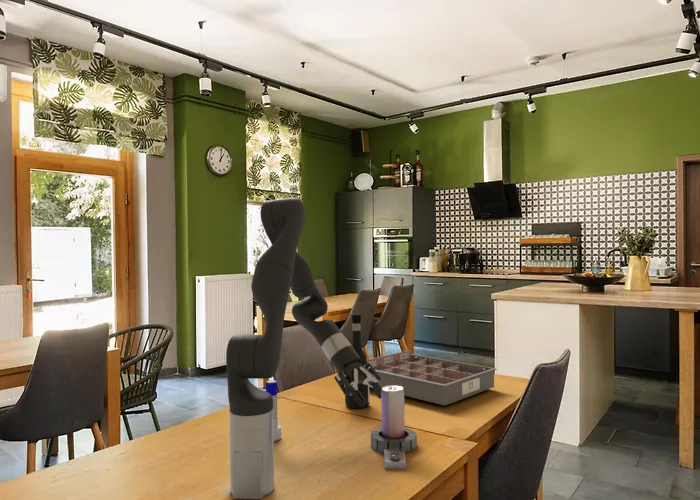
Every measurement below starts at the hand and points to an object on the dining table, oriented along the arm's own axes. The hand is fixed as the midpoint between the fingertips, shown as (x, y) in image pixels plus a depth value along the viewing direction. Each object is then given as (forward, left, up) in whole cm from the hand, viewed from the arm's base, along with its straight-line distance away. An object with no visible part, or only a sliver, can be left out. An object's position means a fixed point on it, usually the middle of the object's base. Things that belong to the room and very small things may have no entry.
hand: (373, 400), depth 141 cm
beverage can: (-4, -5, -11) cm, 12 cm away
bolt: (0, +28, -11) cm, 30 cm away
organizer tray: (+51, -18, -11) cm, 55 cm away
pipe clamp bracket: (-4, -5, -11) cm, 12 cm away
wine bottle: (+30, +6, -11) cm, 33 cm away
